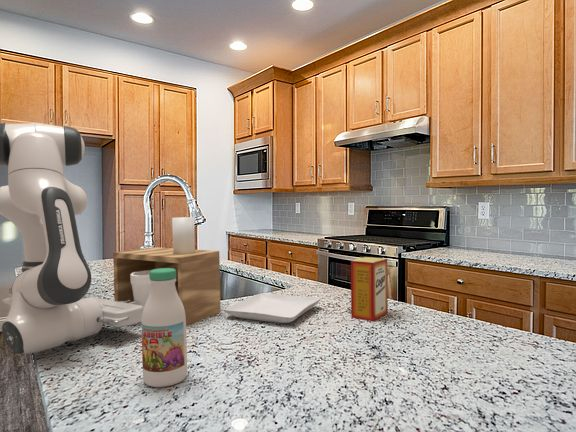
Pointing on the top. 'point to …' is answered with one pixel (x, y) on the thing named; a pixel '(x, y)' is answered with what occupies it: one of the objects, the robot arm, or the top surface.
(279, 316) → the salad plate
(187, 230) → the white pillar candle
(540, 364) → the top surface
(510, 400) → the top surface
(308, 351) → the top surface
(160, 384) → the milk bottle
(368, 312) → the baking soda box
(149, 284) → the foam cup
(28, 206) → the robot arm
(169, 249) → the cubby
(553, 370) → the top surface
